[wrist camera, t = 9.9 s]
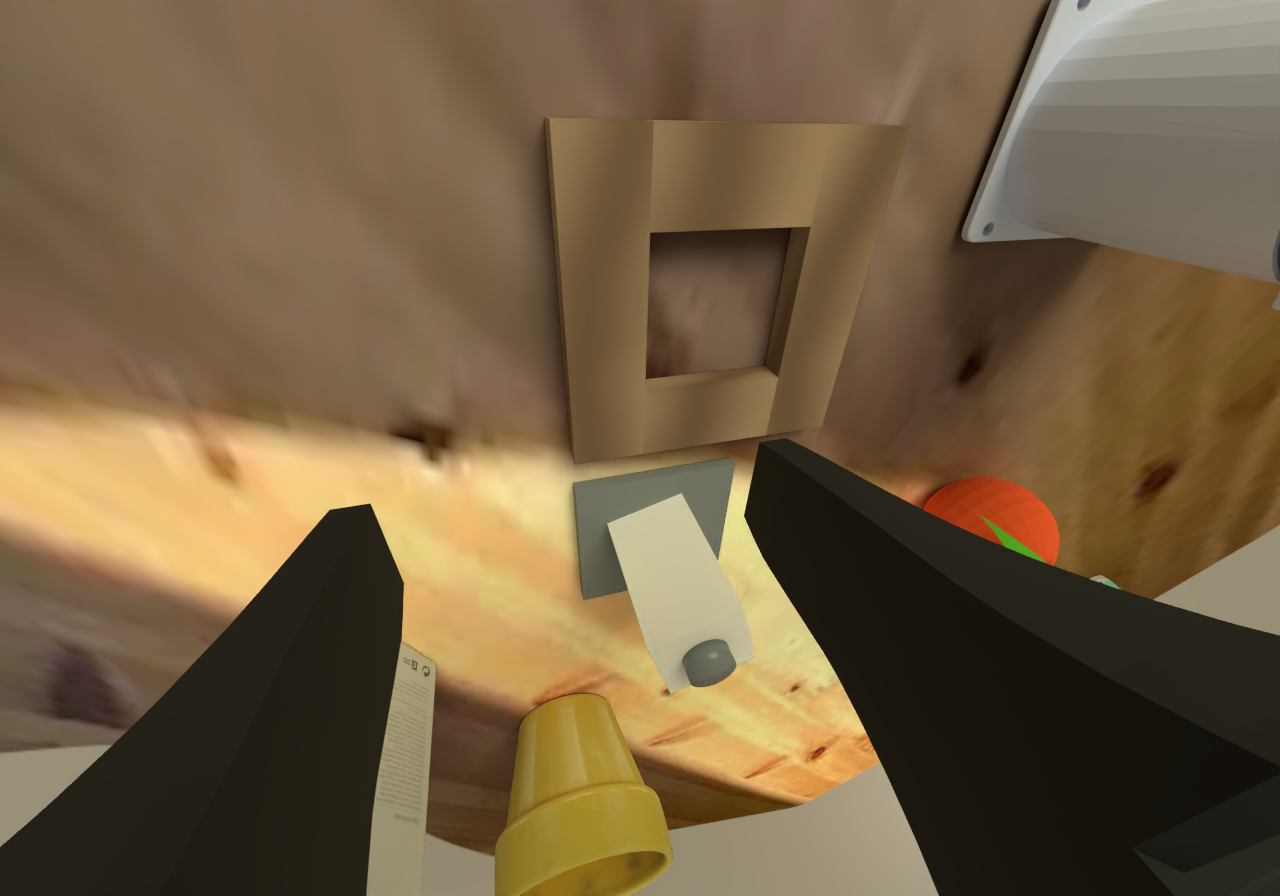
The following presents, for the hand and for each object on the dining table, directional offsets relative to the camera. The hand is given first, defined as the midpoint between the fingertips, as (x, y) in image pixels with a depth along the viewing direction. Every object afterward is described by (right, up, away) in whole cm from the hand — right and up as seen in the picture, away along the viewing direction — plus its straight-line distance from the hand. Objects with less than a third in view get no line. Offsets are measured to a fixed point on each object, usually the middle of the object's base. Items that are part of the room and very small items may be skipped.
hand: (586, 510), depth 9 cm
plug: (+2, -3, +16) cm, 16 cm away
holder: (+4, +7, +10) cm, 13 cm away
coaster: (+2, -3, +16) cm, 17 cm away
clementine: (+21, -2, +22) cm, 31 cm away
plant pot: (-5, -18, +26) cm, 32 cm away
